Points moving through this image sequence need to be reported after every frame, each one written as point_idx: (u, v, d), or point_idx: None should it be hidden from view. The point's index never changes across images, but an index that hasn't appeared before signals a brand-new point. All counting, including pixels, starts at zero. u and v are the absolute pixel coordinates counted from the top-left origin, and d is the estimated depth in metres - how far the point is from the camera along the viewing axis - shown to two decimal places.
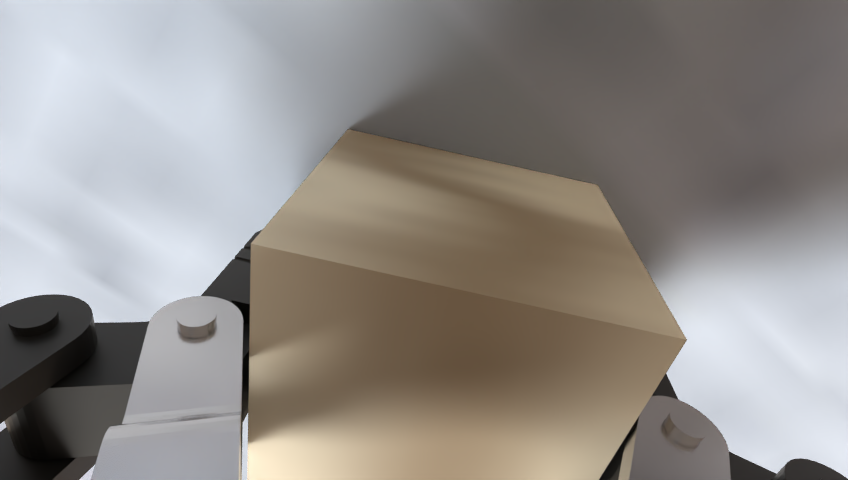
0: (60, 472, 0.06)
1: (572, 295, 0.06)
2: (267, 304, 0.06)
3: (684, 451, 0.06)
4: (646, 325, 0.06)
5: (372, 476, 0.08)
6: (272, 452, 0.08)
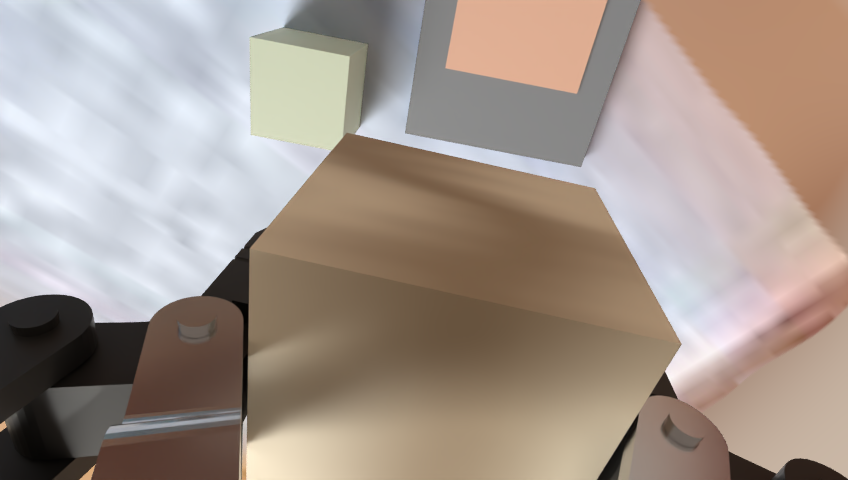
0: (60, 472, 0.06)
1: (567, 300, 0.06)
2: (266, 308, 0.06)
3: (684, 451, 0.06)
4: (641, 329, 0.06)
5: (370, 479, 0.08)
6: (271, 454, 0.08)
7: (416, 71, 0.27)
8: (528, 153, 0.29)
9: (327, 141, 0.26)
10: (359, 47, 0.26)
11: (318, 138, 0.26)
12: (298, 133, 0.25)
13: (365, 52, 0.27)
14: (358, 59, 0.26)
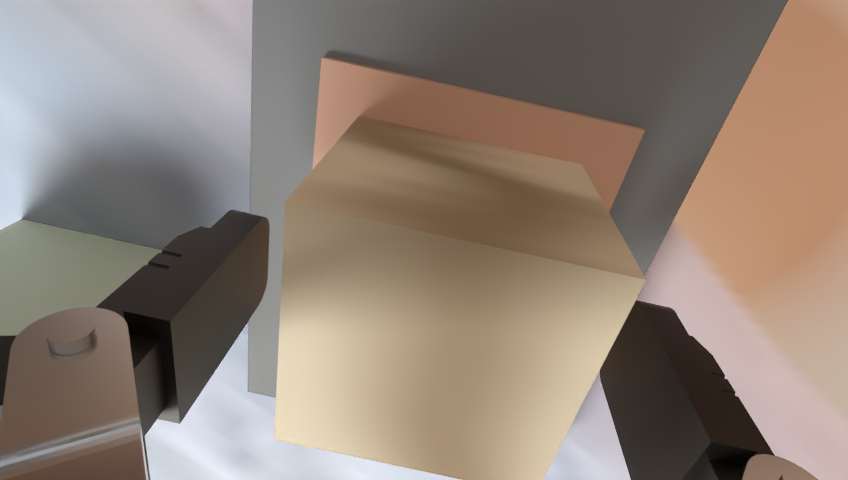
0: None
1: (551, 246, 0.07)
2: (297, 255, 0.07)
3: None
4: (613, 268, 0.07)
5: (384, 413, 0.09)
6: (297, 391, 0.09)
7: None
8: None
9: None
10: None
11: None
12: None
13: None
14: None
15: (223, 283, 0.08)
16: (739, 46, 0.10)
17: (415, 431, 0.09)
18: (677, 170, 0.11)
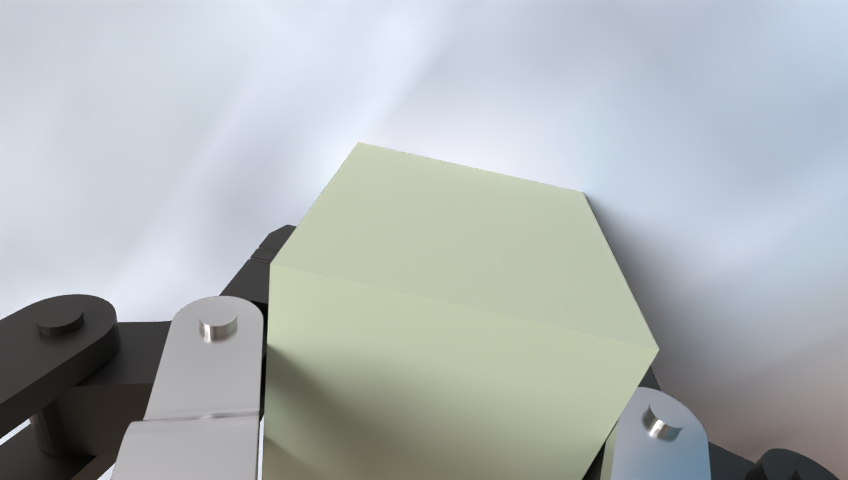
0: (81, 470, 0.06)
1: None
2: None
3: (663, 441, 0.06)
4: None
5: None
6: None
7: None
8: None
9: (288, 474, 0.08)
10: None
11: (294, 457, 0.08)
12: (302, 413, 0.07)
13: None
14: None
15: None
16: None
17: None
18: None
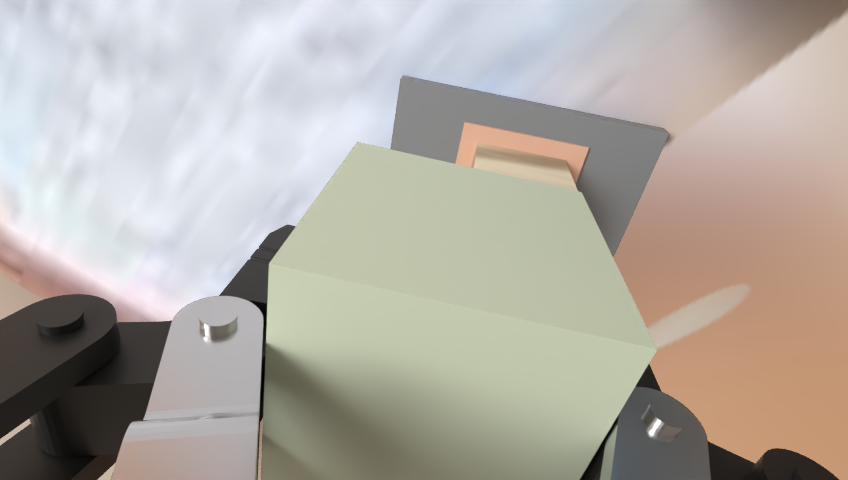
0: (80, 470, 0.06)
1: None
2: None
3: (663, 440, 0.06)
4: None
5: None
6: None
7: (461, 93, 0.28)
8: None
9: (287, 474, 0.08)
10: None
11: (293, 456, 0.08)
12: (301, 412, 0.07)
13: None
14: None
15: None
16: None
17: None
18: None
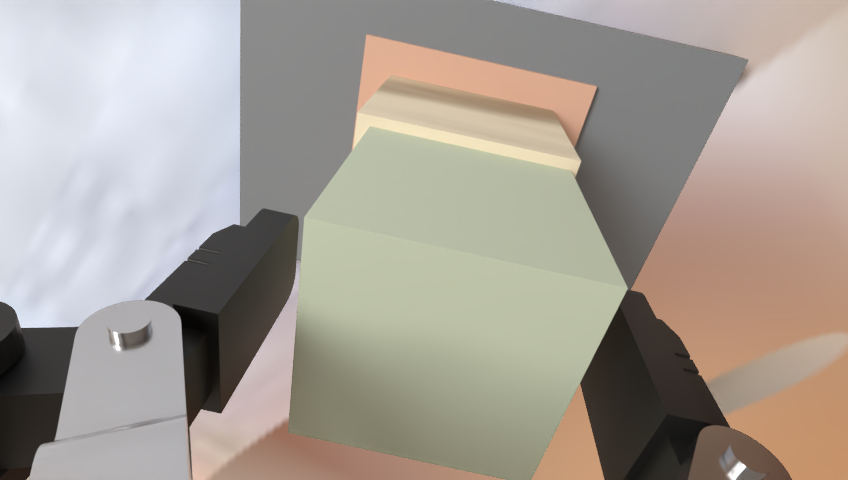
0: None
1: None
2: (541, 162, 0.11)
3: None
4: None
5: None
6: None
7: None
8: (245, 175, 0.18)
9: (313, 411, 0.09)
10: None
11: (318, 394, 0.09)
12: (327, 352, 0.08)
13: None
14: None
15: (260, 279, 0.09)
16: None
17: None
18: None
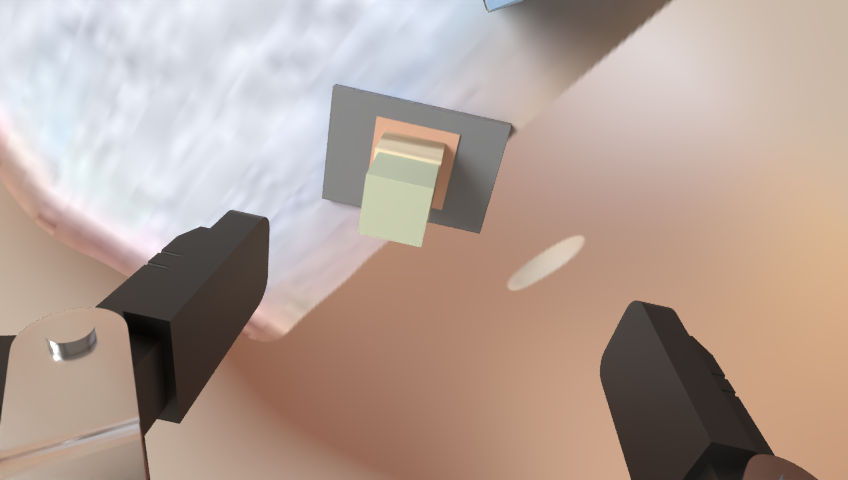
0: None
1: None
2: (430, 162, 0.38)
3: None
4: (429, 215, 0.41)
5: None
6: None
7: (374, 96, 0.41)
8: (327, 167, 0.45)
9: (364, 225, 0.36)
10: None
11: (366, 220, 0.36)
12: (369, 207, 0.35)
13: None
14: None
15: (222, 283, 0.08)
16: (459, 224, 0.47)
17: None
18: (431, 218, 0.47)
